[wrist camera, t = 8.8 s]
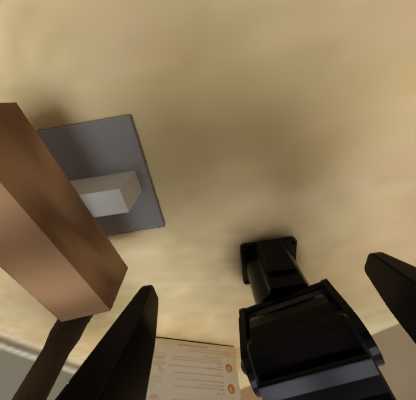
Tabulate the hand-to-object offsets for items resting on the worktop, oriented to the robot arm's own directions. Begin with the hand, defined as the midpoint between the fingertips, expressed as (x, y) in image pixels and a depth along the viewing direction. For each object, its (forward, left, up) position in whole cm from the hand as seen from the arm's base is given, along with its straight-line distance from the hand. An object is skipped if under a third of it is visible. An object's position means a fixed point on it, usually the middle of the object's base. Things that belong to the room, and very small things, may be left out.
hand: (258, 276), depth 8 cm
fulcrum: (+1, +13, -12) cm, 18 cm away
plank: (+1, +13, -8) cm, 15 cm away
